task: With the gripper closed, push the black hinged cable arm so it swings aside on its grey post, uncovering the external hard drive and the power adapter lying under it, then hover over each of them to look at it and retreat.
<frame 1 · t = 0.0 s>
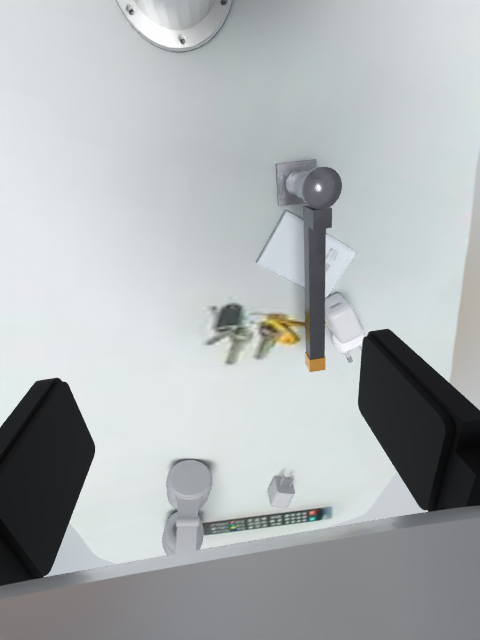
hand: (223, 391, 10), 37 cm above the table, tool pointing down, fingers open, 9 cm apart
post: (295, 182, 42), on the table
cable arm: (316, 283, 39), point 9 cm above the table, hinge at 0.0°
usb wall charger: (280, 478, 68), on the table
external hard drive: (304, 254, 47), on the table
power adapter: (337, 321, 52), on the table
headphones: (187, 490, 67), on the table
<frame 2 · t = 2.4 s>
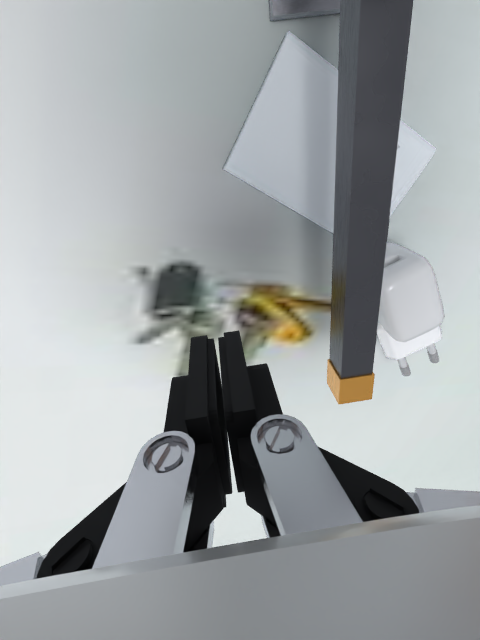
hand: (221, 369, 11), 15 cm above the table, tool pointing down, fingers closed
cable arm: (370, 186, 15), point 9 cm above the table, hinge at 0.0°
external hard drive: (324, 158, 23), on the table
power adapter: (382, 300, 28), on the table
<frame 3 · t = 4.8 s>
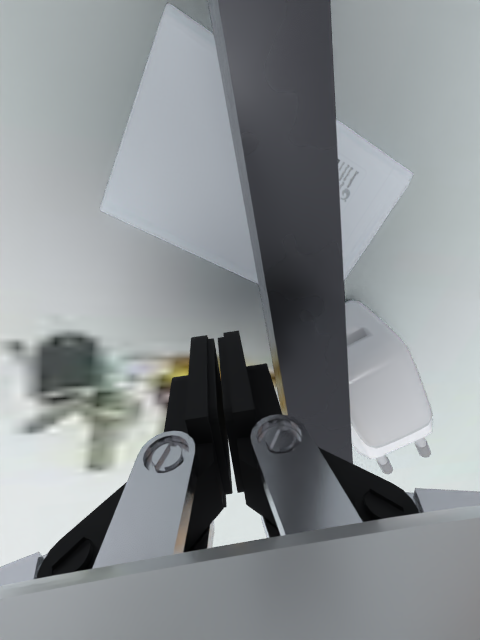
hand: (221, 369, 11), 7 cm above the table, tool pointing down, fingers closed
cable arm: (301, 259, 8), point 9 cm above the table, hinge at 4.0°, touching gripper
external hard drive: (255, 189, 16), on the table
power adapter: (354, 369, 21), on the table
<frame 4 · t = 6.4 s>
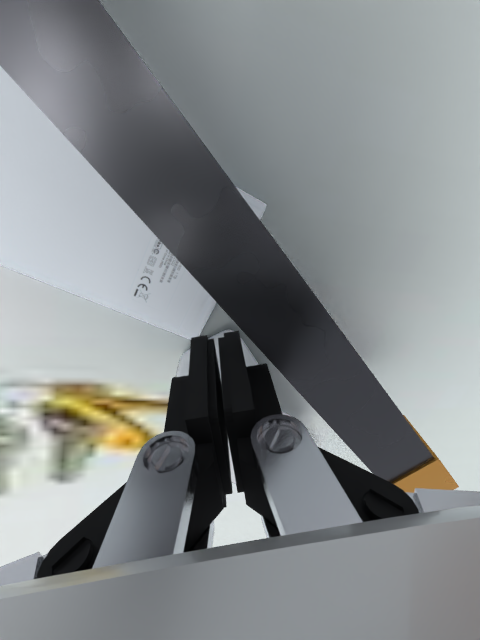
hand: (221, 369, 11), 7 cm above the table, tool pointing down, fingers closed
cable arm: (205, 223, 7), point 9 cm above the table, hinge at 31.5°, touching gripper
external hard drive: (115, 218, 16), on the table
power adapter: (248, 396, 21), on the table
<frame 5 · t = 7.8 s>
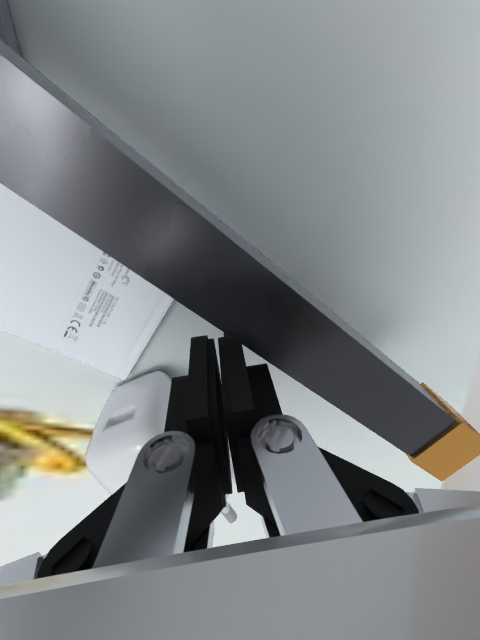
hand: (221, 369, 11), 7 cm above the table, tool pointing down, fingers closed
cable arm: (167, 243, 7), point 9 cm above the table, hinge at 49.3°, touching gripper
external hard drive: (51, 261, 17), on the table
power adapter: (179, 430, 22), on the table
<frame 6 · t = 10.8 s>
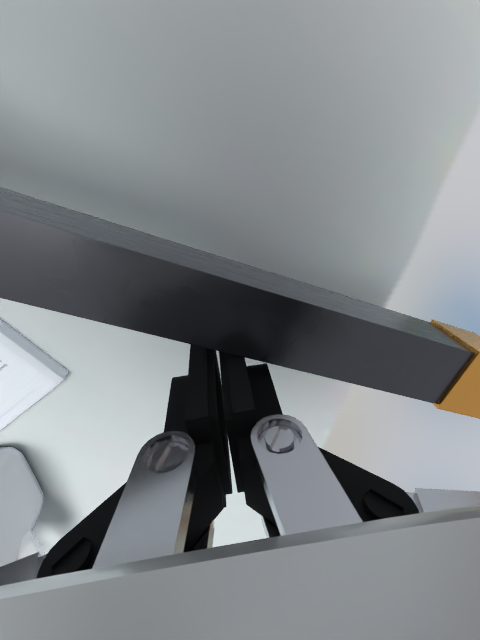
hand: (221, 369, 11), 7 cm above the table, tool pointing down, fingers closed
cable arm: (85, 277, 8), point 9 cm above the table, hinge at 89.2°, touching gripper
power adapter: (23, 495, 23), on the table
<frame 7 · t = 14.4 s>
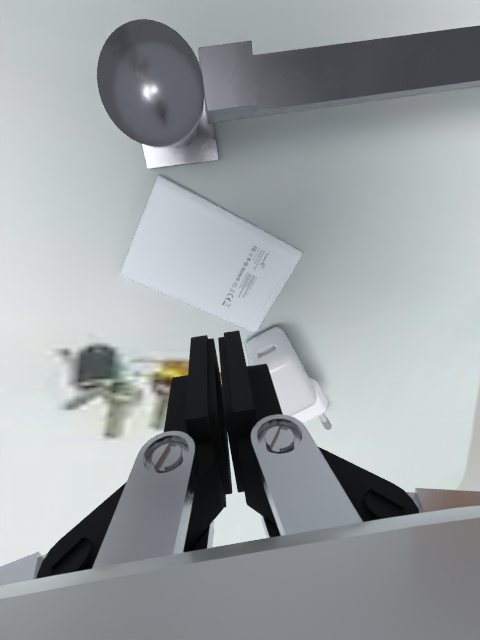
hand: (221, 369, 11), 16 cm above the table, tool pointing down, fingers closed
post: (177, 124, 22), on the table
cable arm: (402, 64, 14), point 9 cm above the table, hinge at 90.8°
external hard drive: (212, 259, 27), on the table
power adapter: (284, 371, 32), on the table
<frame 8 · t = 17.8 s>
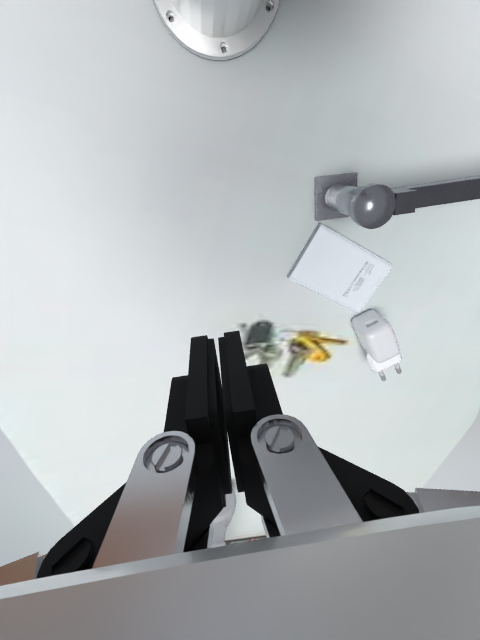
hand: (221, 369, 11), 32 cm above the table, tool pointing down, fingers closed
post: (334, 196, 40), on the table
cable arm: (471, 189, 33), point 9 cm above the table, hinge at 90.8°
external hard drive: (336, 268, 45), on the table
power adapter: (370, 338, 50), on the table
headphones: (207, 508, 65), on the table
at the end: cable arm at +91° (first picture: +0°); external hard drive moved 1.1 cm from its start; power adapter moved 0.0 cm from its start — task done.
